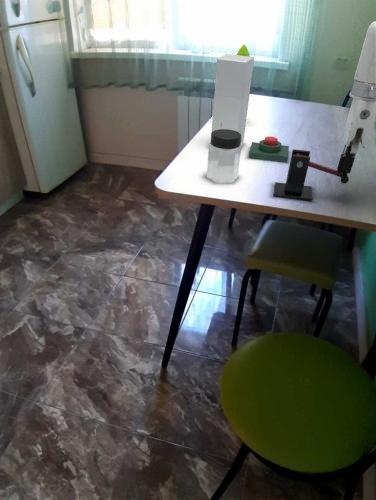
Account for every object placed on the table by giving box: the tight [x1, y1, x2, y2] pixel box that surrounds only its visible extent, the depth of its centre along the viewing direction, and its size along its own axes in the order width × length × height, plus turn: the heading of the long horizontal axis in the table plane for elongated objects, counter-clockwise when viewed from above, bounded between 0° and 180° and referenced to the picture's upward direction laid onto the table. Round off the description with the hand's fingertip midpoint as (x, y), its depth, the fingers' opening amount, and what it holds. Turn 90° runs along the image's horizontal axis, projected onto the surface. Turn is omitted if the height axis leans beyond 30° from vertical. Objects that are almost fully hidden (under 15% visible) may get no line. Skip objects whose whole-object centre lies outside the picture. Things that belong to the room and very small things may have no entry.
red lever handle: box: [296, 153, 350, 185], centre depth 105 cm, size 14×6×2 cm, turn 79°
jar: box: [206, 129, 243, 184], centre depth 113 cm, size 9×8×12 cm
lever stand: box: [272, 148, 313, 202], centre depth 108 cm, size 10×8×11 cm
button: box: [264, 136, 279, 146], centre depth 129 cm, size 4×4×2 cm
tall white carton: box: [210, 53, 255, 146], centre depth 128 cm, size 9×9×25 cm
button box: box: [248, 139, 290, 164], centre depth 130 cm, size 12×10×4 cm
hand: (343, 171), depth 105 cm, fingers closed
